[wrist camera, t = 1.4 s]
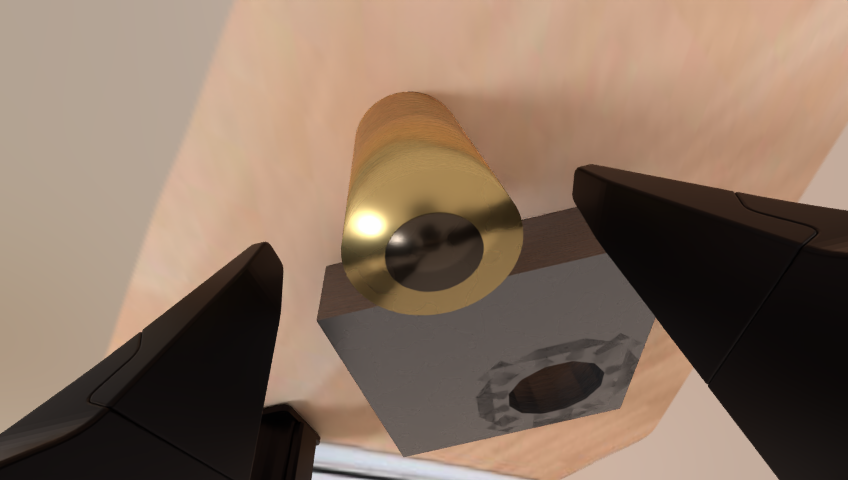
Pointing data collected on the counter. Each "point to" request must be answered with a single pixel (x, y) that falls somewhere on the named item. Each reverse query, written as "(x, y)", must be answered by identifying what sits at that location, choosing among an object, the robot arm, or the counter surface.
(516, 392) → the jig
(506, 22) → the counter surface
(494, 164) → the counter surface
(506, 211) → the bushing
